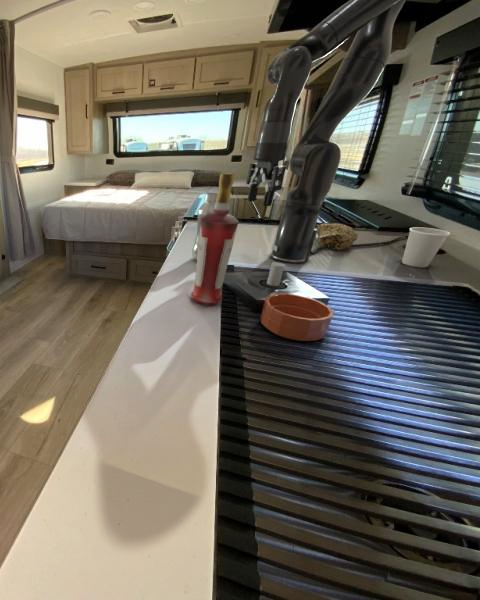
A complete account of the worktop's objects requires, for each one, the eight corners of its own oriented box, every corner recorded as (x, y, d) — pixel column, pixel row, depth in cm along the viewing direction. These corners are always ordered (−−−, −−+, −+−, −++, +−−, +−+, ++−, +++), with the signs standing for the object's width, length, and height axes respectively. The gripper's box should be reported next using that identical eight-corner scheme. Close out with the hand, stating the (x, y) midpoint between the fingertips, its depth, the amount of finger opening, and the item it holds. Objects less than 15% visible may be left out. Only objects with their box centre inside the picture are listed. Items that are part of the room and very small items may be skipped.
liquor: (190, 292, 82) (209, 171, 69) (222, 297, 79) (247, 172, 67) (187, 304, 76) (206, 174, 63) (221, 310, 73) (248, 175, 61)
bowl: (300, 313, 71) (307, 292, 69) (339, 342, 61) (348, 319, 59) (249, 315, 71) (254, 294, 69) (279, 344, 61) (286, 320, 59)
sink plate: (283, 281, 87) (286, 271, 86) (325, 310, 73) (329, 297, 71) (223, 283, 87) (225, 272, 85) (253, 311, 72) (256, 299, 71)
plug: (274, 291, 82) (282, 260, 78) (286, 299, 77) (295, 267, 74) (254, 291, 82) (261, 260, 78) (265, 300, 77) (273, 268, 74)
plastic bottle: (215, 264, 99) (227, 195, 90) (191, 263, 101) (201, 195, 92) (211, 257, 105) (223, 192, 96) (189, 256, 106) (198, 191, 97)
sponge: (350, 257, 107) (364, 233, 118) (352, 234, 104) (366, 212, 115) (303, 255, 117) (320, 233, 128) (303, 234, 114) (320, 213, 124)
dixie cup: (441, 269, 93) (459, 235, 89) (407, 268, 95) (422, 233, 90) (420, 260, 101) (436, 227, 96) (389, 258, 102) (402, 226, 98)
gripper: (303, 141, 82) (285, 207, 89) (271, 140, 95) (258, 199, 102) (273, 141, 82) (258, 208, 89) (245, 141, 95) (234, 199, 102)
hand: (258, 203), depth 95 cm, fingers open, 8 cm apart
